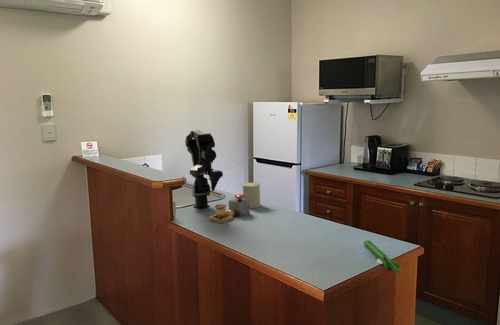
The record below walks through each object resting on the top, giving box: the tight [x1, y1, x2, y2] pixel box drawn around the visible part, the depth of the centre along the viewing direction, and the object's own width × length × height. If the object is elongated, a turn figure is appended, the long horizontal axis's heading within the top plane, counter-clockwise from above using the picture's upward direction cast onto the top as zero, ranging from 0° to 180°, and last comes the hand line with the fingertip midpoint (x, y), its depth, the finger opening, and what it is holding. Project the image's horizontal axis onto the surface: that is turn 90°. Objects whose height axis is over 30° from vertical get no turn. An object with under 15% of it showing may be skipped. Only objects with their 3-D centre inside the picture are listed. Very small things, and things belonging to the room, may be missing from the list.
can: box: [242, 182, 261, 209], centre depth 216 cm, size 9×9×12 cm
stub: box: [214, 203, 227, 219], centre depth 192 cm, size 5×5×7 cm
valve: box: [225, 193, 251, 218], centre depth 199 cm, size 8×12×9 cm
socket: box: [208, 214, 234, 224], centre depth 192 cm, size 8×8×2 cm
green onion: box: [363, 239, 401, 276], centre depth 138 cm, size 5×3×30 cm
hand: (206, 189), depth 203 cm, fingers open, 9 cm apart
